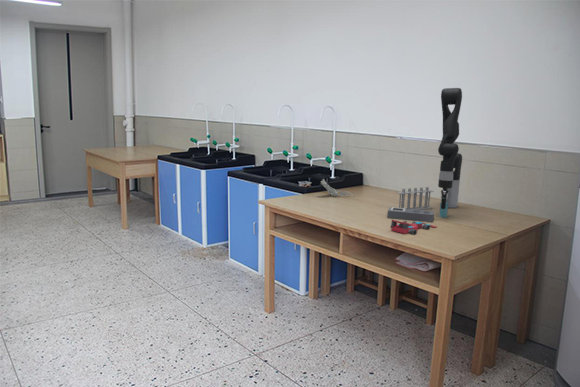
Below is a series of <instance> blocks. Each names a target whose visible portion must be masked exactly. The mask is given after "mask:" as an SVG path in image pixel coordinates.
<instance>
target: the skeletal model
mask: <svg viewBox="0 0 580 387" xmlns="http://www.w3.org/2000/svg"><path fill="white" fill-rule="evenodd" d="M320 184H321V185H322V186H323V187H324V188H325V189H326V191H327V193H328V194H329V195H331V196H332V197H334V196H335V197H345V196H348V195H352V196H353V197H356V195H355V194H354V193H351V192H350V191H346V190H344V191H343V190H342V189H335V188H333V187H331V186H330V185H329V184H328V183H327V181H326V180H325V178H323V179H322V180H321V181H320ZM338 193H340V194H338Z"/></svg>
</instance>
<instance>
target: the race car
mask: <svg viewBox="0 0 580 387" xmlns="http://www.w3.org/2000/svg"><path fill="white" fill-rule="evenodd" d="M437 227H438V226H436V225H432V224H429V223H425V222H423V221H415V220H412V223H411V222H410V223H409V222H407V220H405V221H399V220H397V219H391V225H390V229H391V231H394V232H396V233H400V234H410V235H417V234H418V229H419V230H420V229H422V230H423V229H424V230H426V231H427V230H430V229H431V228H437Z"/></svg>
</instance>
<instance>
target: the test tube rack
mask: <svg viewBox="0 0 580 387" xmlns="http://www.w3.org/2000/svg"><path fill="white" fill-rule="evenodd" d="M434 191H435V190H433V189H432V190H431V189H430V188H429V186H426V187H425V189H424V188H423V187H422V186H420V187H419V190H418V187H414V188H413V190H412V188H410V187H409V188H407V191H406V188H402V189H401V191H396V193H397V194H398V195H399V198H398V199H399V202H398V204H399V205H398V208H405V209H416V210H430V209H431V210H433V209H434V208H433V207H432V206H430V203H431V202H430V200H431V193H434ZM423 193H424V206H422V205H423V204H422V203H423ZM412 194H413V199H412V198H411V196H412ZM417 194H419V197H417V196H418V195H417ZM406 195H407V200H406V198H405V197H406ZM417 198H418V206H417ZM411 199H412V207H411ZM405 200H406V201H407V203H406V207H405Z"/></svg>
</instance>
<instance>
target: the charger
mask: <svg viewBox="0 0 580 387" xmlns="http://www.w3.org/2000/svg"><path fill="white" fill-rule="evenodd" d="M441 203H442V202H441V201H440V206H439V218H447V217H448V209H449V208H448V202H446V206H445V209H441Z"/></svg>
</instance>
